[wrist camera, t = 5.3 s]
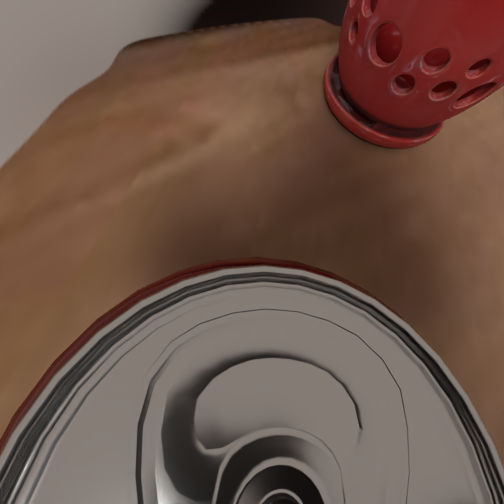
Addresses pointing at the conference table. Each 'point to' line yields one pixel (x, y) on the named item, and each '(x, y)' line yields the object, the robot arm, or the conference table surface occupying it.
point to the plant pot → (413, 66)
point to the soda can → (249, 401)
